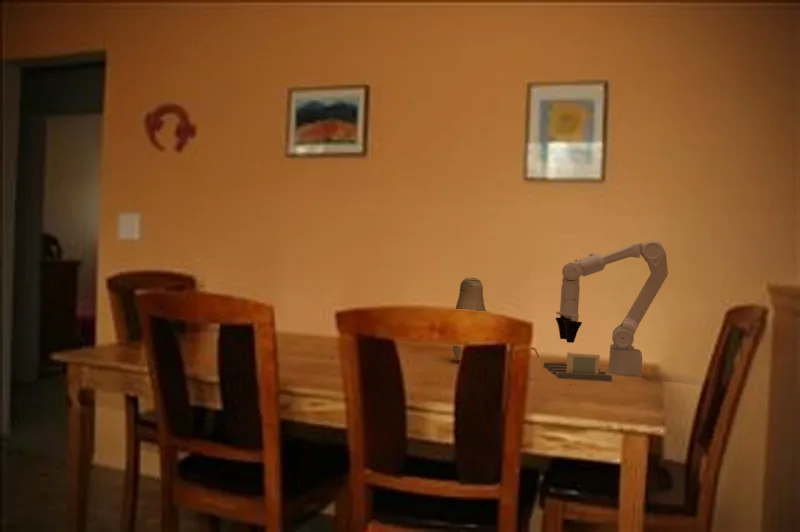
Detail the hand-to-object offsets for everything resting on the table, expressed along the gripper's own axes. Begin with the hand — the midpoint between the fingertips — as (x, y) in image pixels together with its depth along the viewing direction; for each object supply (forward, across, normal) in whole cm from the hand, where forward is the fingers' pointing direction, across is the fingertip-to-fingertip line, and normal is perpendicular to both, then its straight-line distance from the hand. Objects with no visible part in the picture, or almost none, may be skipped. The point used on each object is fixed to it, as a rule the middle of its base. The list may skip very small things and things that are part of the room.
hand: (566, 340), depth 205 cm
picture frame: (+8, +17, 0) cm, 19 cm away
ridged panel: (+9, +12, 0) cm, 15 cm away
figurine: (+10, +23, -19) cm, 31 cm away
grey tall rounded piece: (+10, -2, -32) cm, 33 cm away
